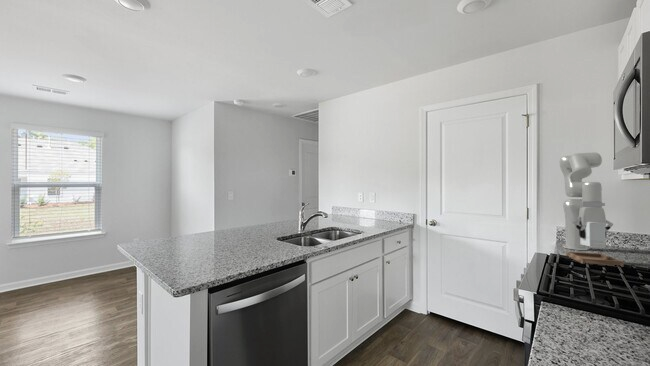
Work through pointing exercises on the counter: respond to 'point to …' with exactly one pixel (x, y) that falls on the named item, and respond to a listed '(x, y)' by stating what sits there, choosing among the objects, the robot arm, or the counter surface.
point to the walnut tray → (594, 259)
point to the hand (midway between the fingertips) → (592, 238)
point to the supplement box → (594, 235)
